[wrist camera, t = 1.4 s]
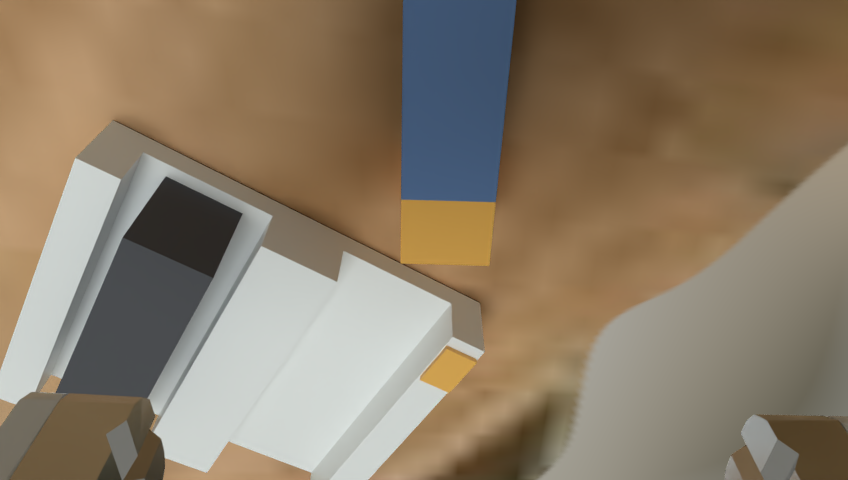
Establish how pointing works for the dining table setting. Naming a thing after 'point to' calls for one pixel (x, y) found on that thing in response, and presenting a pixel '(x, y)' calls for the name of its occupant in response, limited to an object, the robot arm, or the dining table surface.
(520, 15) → the dining table surface
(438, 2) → the blue bar yellow end
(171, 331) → the dark grey square rod
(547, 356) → the dining table surface
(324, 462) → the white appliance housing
